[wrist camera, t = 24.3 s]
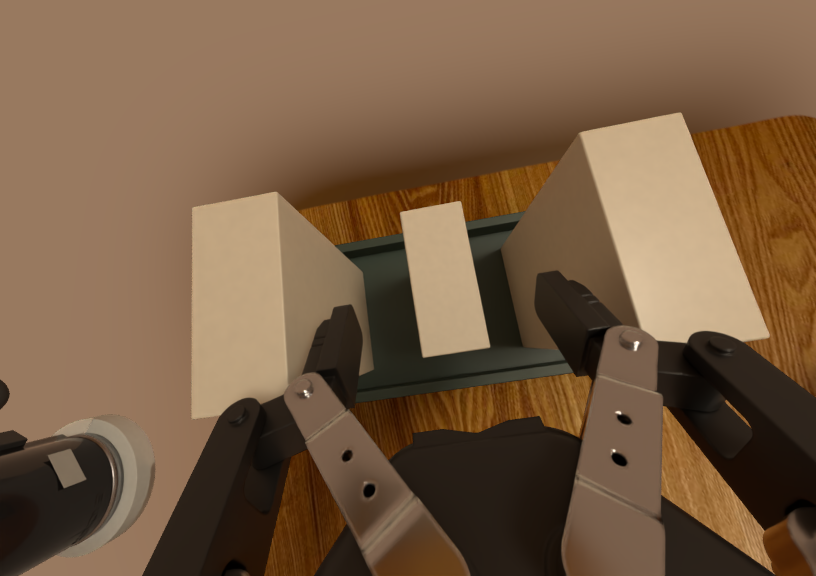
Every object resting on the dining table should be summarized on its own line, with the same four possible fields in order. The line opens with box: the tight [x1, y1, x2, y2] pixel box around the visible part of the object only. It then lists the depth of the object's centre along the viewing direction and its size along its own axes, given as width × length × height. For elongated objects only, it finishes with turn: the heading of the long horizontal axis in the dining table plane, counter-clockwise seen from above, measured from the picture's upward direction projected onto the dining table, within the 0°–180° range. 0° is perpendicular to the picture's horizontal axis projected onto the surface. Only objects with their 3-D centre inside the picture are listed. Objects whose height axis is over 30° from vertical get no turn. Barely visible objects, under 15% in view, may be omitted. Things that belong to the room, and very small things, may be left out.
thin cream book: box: [400, 201, 490, 358], centre depth 20 cm, size 3×7×13 cm, turn 9°
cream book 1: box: [191, 192, 374, 420], centre depth 19 cm, size 4×9×15 cm, turn 8°
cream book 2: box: [501, 112, 770, 350], centre depth 18 cm, size 4×9×15 cm, turn 9°
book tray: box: [335, 211, 574, 403], centre depth 25 cm, size 26×14×3 cm, turn 98°
